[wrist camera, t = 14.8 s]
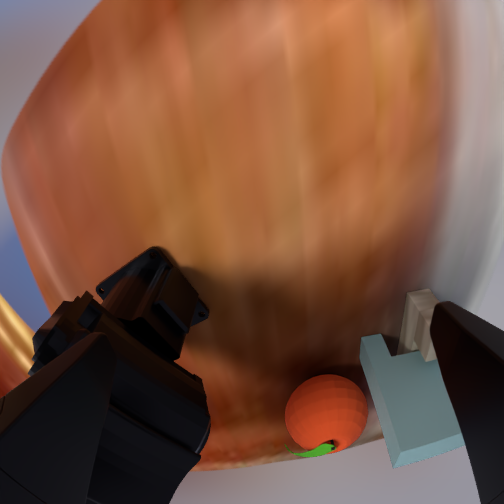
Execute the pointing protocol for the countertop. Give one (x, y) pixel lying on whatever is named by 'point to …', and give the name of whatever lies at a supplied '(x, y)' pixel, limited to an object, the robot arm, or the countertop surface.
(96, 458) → the robot arm
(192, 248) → the countertop surface
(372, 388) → the teal slotted plate
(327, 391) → the clementine
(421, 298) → the birch slotted plate
